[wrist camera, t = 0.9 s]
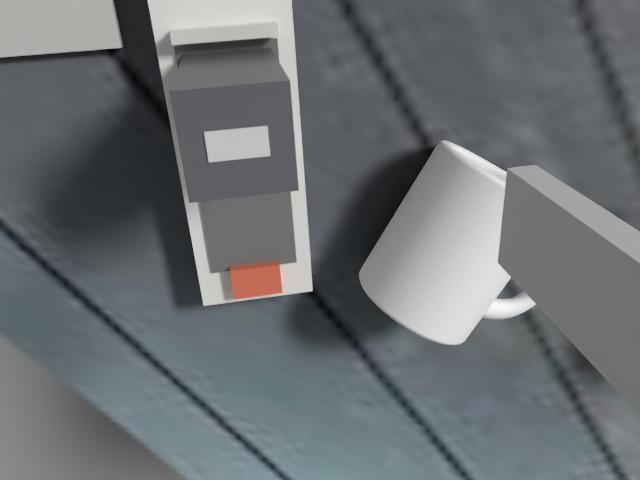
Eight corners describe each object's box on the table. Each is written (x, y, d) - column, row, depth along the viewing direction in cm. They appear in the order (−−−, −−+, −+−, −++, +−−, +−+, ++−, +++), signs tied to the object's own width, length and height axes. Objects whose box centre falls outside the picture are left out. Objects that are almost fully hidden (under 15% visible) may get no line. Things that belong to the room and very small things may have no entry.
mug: (346, 254, 38) (374, 321, 31) (422, 126, 35) (474, 167, 28) (480, 310, 42) (532, 380, 35) (560, 199, 39) (636, 252, 32)
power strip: (68, -476, 21) (40, -555, 18) (250, -470, 22) (255, -546, 19) (204, 285, 37) (203, 316, 34) (307, 272, 38) (315, 301, 35)
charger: (183, 54, 28) (168, 91, 20) (270, 47, 28) (290, 80, 20) (197, 139, 30) (189, 203, 22) (277, 130, 30) (298, 191, 22)
